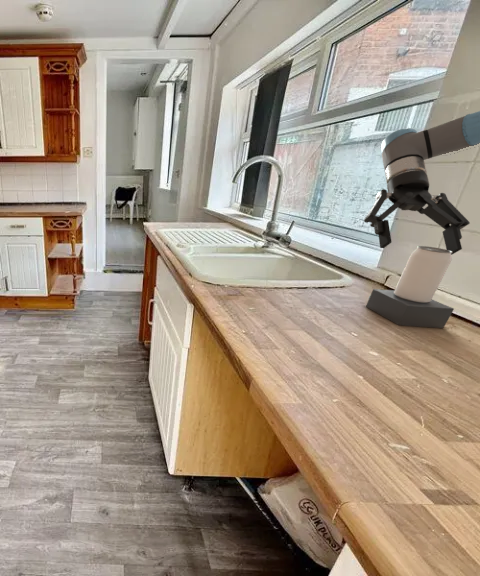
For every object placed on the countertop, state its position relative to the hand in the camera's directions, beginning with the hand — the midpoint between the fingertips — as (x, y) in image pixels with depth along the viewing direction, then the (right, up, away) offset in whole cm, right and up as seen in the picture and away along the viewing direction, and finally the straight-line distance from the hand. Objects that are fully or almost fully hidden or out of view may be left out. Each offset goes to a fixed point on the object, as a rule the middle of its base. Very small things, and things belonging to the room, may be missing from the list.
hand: (419, 248), depth 73 cm
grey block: (-2, -16, +2) cm, 17 cm away
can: (-2, -12, 0) cm, 12 cm away
